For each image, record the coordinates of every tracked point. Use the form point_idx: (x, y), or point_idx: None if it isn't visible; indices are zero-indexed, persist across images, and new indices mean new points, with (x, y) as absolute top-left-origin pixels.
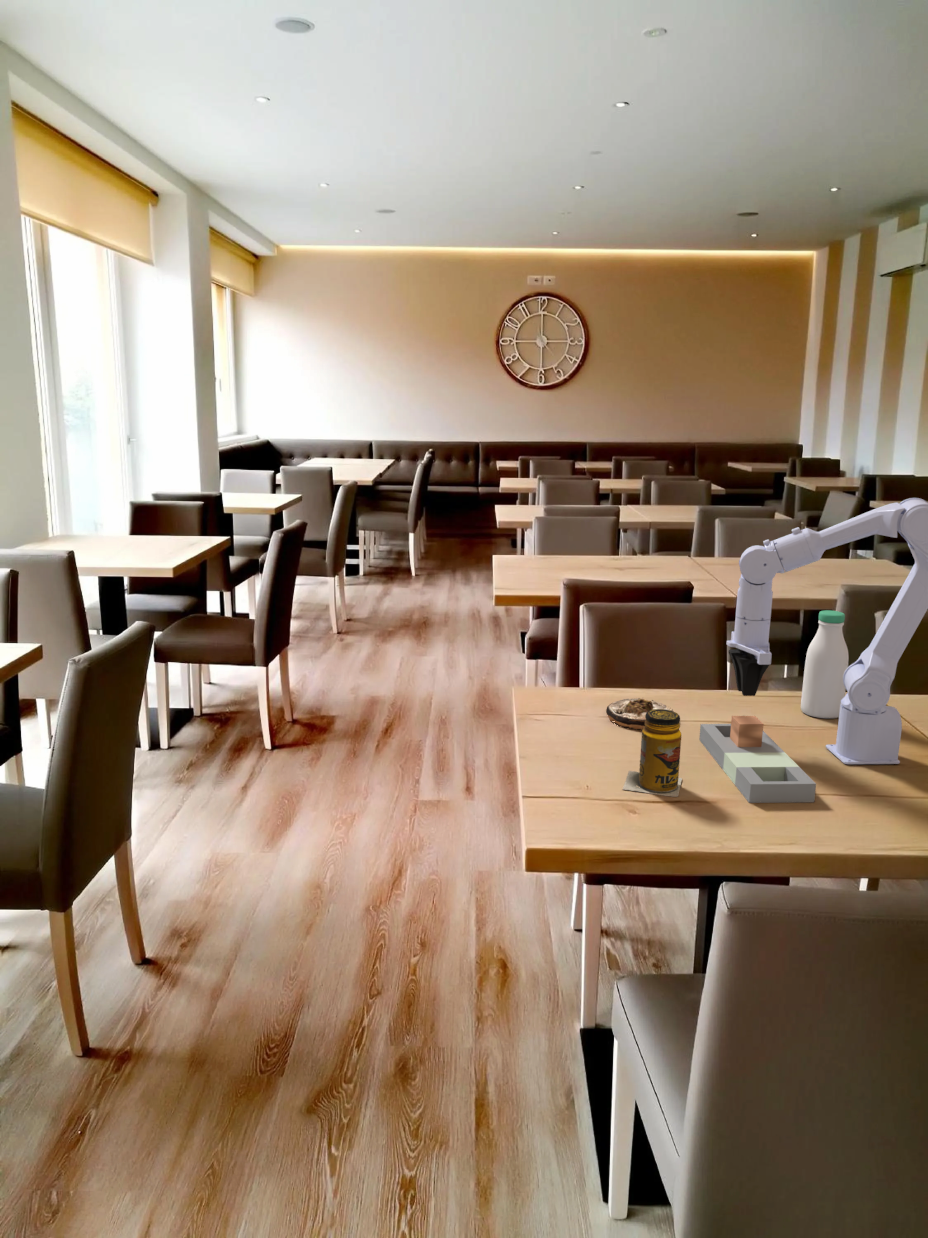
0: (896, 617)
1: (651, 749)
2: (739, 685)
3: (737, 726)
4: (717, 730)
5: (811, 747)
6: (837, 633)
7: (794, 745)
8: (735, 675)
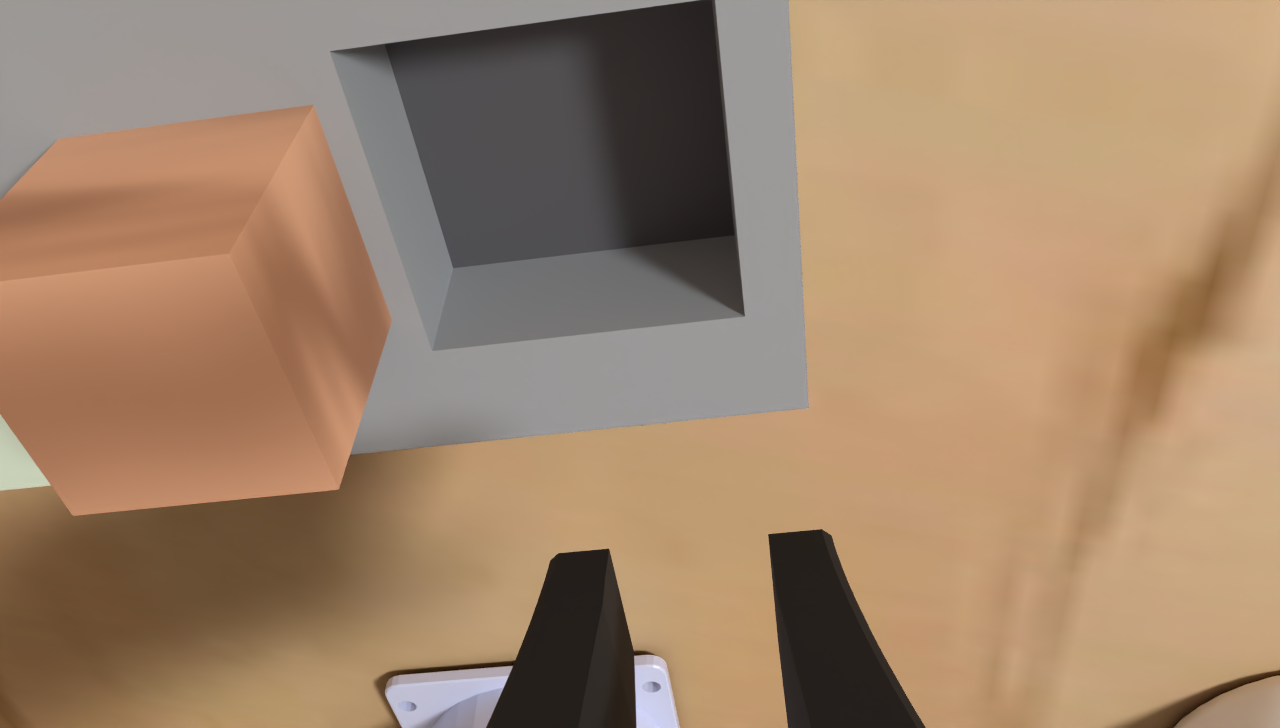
0: None
1: None
2: (778, 612)
3: (7, 250)
4: (549, 4)
5: (663, 592)
6: None
7: (689, 521)
8: (896, 708)
